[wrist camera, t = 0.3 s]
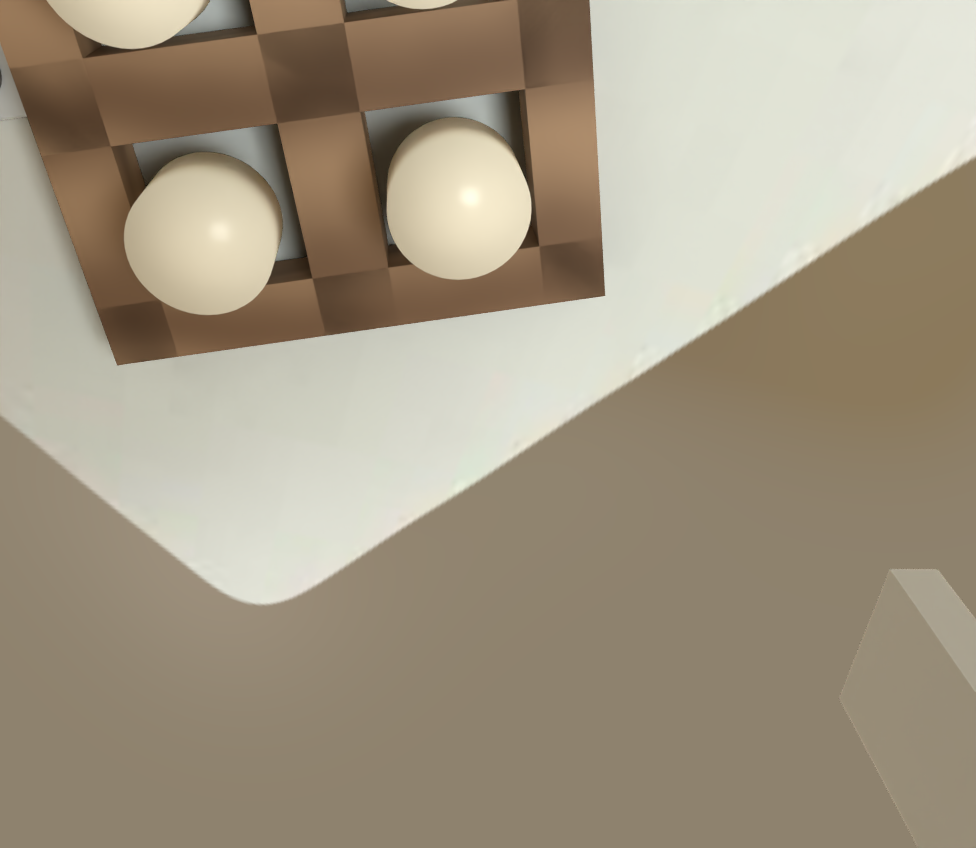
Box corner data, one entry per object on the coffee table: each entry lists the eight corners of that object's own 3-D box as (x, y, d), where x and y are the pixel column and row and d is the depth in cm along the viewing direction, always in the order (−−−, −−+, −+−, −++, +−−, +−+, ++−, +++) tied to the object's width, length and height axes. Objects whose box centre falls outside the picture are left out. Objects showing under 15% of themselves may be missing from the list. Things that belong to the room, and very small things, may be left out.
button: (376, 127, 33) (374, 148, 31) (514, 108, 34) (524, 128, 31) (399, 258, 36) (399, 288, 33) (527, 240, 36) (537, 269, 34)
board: (-65, -227, 30) (-100, -234, 27) (559, -309, 30) (572, -323, 28) (131, 338, 40) (117, 365, 38) (593, 273, 40) (605, 295, 38)
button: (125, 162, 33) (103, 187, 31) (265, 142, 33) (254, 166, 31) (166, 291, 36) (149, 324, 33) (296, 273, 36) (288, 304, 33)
